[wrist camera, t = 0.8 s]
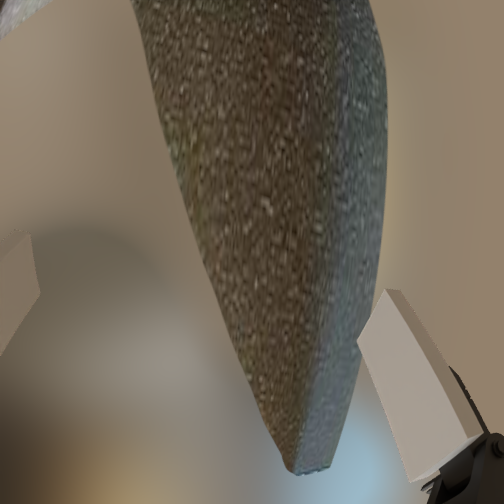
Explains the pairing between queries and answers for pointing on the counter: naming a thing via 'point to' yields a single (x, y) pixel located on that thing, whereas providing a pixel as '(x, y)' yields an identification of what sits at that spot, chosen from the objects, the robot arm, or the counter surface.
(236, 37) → the counter surface
